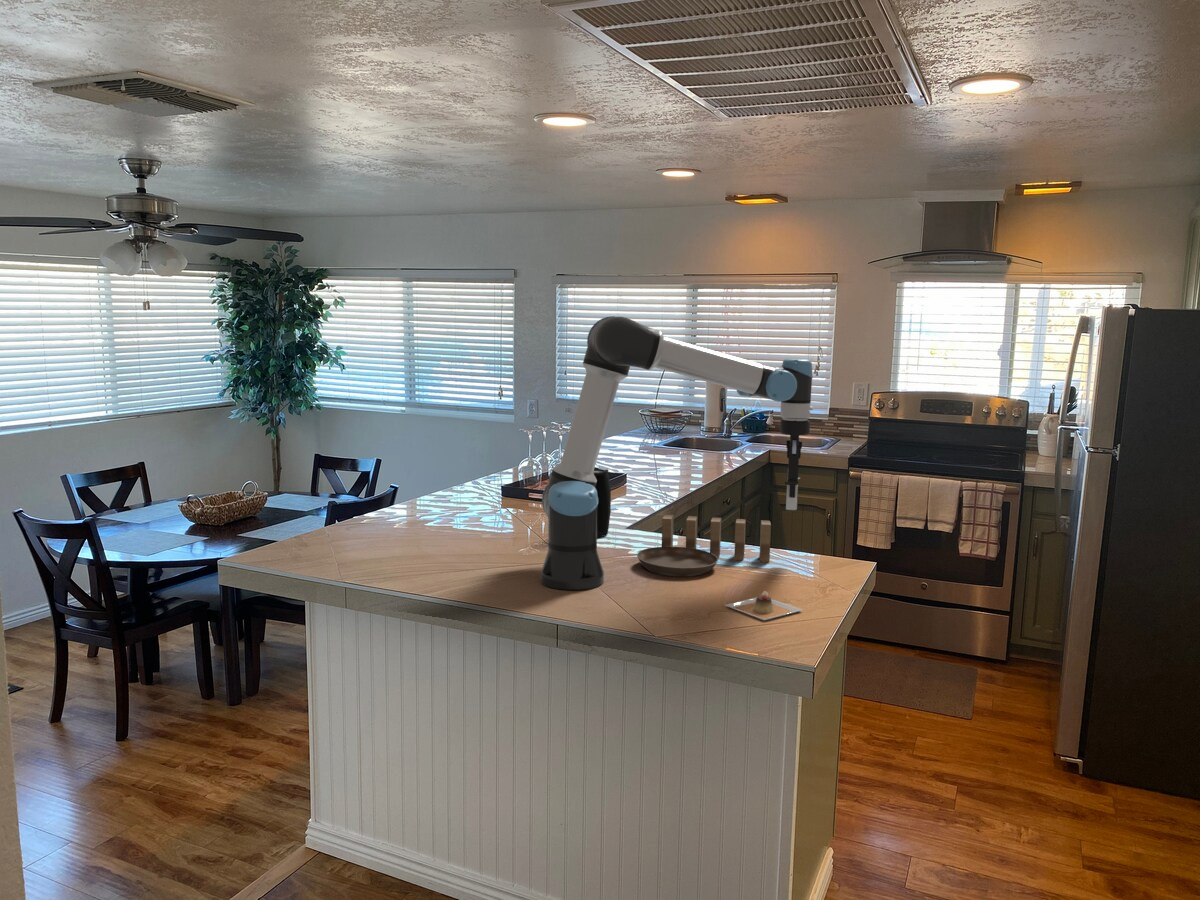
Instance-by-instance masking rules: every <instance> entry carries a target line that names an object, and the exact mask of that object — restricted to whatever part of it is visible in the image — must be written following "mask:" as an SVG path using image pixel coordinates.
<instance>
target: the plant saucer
mask: <svg viewBox="0 0 1200 900" xmlns="http://www.w3.org/2000/svg"><path fill="white" fill-rule="evenodd" d="M636 557H637V559H638V560H639V562H640V563H641V565H642V566H643V567H644V568H645V569H647V570H648V571H650V572H652V573H654V574H658V575H663V576H668V577H669V576H670V577H693V576H694V577H696V576H699V575H704V574H707V573H708V572H709V571H711V570H712V569H713V568H714V567H716V565H717V563H718V562H719V559H718V558H717V556H715V555H714V554H712V553H710V551H706V550H702V549H697V548H696V549H694V548H686V546H673V547H662V546H657V547H656V546H655V547H649V548H645V549H643V550H640V551H639V552H637V555H636Z"/></svg>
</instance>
